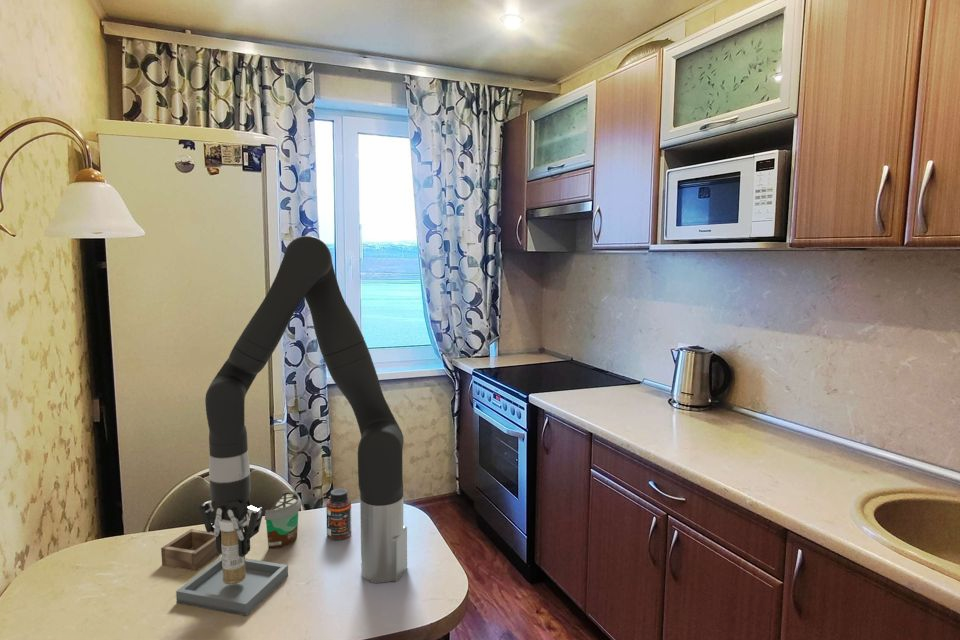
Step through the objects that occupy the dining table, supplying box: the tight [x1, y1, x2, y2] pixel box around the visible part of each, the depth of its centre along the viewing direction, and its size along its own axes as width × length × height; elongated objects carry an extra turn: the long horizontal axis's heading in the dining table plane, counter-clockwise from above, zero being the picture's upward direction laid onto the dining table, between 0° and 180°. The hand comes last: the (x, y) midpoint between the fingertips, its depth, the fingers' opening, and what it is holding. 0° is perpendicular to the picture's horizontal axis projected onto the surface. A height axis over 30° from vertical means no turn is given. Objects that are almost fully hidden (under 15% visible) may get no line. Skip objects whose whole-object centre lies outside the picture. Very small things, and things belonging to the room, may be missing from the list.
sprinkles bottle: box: [220, 519, 246, 584], centre depth 115 cm, size 5×5×14 cm
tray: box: [175, 556, 289, 617], centre depth 116 cm, size 16×14×2 cm
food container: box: [264, 489, 302, 550], centre depth 136 cm, size 12×6×10 cm, turn 179°
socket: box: [160, 528, 221, 572], centre depth 128 cm, size 9×9×4 cm
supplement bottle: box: [326, 488, 352, 541], centre depth 138 cm, size 6×6×11 cm
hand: (233, 552), depth 116 cm, fingers closed on sprinkles bottle, 4 cm apart
